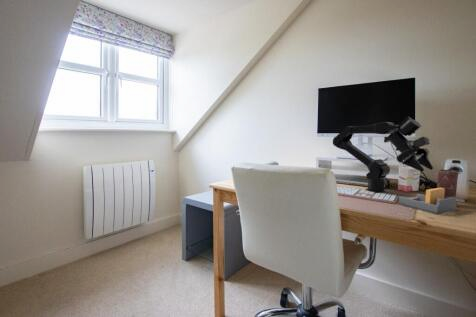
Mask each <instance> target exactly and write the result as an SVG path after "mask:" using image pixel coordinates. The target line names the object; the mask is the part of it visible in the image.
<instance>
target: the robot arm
mask: <svg viewBox="0 0 476 317" xmlns="http://www.w3.org/2000/svg"><path fill="white" fill-rule="evenodd" d="M421 127H422V125H421V124H420V123H419V121H417V120H415V119H413V118H412V117H410V116H407V117H405V118H404V119H403V120H402V121H401V122H400V123H399V124H395V123H394V122H390V121H382V122H378V123H375V124H371V125H369V124H368V125H355V126H354V125H353V126H352V125H351V126H350V125H349V126H346V127H345V128H344V129H343V130H342V131H341V132H339V133H338V134H337V135H336V136H334V137H333V139H332V145H333V147H336V148H337V149H340V150H344V151H345V152H347V153H348V154H350V155H351V156H352V157H354V158H355V159H357V160H358V161H359V162H361V164H363V165H365V167H366V168H367V169H368V173H366V175H365V176H366V179H368V181H367V188H365V190H366V191H369V190H370V191H369V192H373V191H376V192H375V193H382V191H384V192H386V190H385V179H386V177H387V176H388V175H389V174H390V173H391V172H390V171H391V169H390V168H391V167H390V166H389V164H388V163H386V162H385V161H383V160H382V159H381V158H380V159H374V158H372V157H371V156H370V155H368V154H366V153H365V152H363V151H362V150H360V149H359V148H358V147H357V146H355V145H353V143H352V141H351V139H352V138H353V136H354V134H367V133H368V134H369V133H370V134H371V133H373V134H377V135H388V136H384V138H383V143H389V142H390V143H391V144H392V146H394V148H395V151H396V152H398V151H399V152H400V153H399V154H398V155H397V156H396V161H397V162H398V163H399V164H401V163H402V164H405V165H407V166H410V167H412V168H414V169H417V170H419V171H420V173H423V172H425V169H424V167H425V168H427V169H429V170H433V169H434V167H433V165H432V163H431V161H430V159H429V155H430V150H429V149H428V148H427V147H426V148H425V147H423V146H428V145H430V138H428V137H427V136H422V137H418V138H417V139H414V140H412V139H411V140H410V139H407V136H409V137H411V136H412V135H413V134H414V133H416V132H417V131H418V130H419V129H420V128H421Z"/></svg>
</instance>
